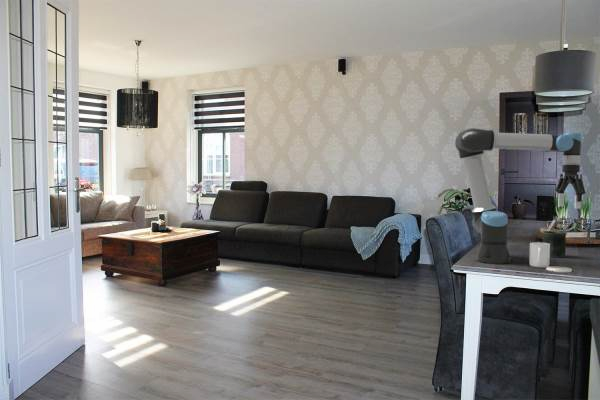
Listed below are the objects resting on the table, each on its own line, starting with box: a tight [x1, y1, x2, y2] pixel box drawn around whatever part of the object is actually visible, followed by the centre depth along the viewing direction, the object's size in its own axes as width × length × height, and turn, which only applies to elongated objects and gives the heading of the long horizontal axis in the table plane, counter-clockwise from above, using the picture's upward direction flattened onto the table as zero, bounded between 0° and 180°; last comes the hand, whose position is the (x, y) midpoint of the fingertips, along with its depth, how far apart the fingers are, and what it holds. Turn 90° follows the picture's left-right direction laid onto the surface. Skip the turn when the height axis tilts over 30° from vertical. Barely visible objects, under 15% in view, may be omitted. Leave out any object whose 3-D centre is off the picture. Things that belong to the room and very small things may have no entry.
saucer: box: [545, 265, 573, 274], centre depth 221 cm, size 10×10×1 cm
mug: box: [534, 230, 568, 258], centre depth 258 cm, size 11×15×12 cm
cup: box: [528, 241, 551, 268], centre depth 230 cm, size 8×12×10 cm
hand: (569, 207), depth 251 cm, fingers open, 13 cm apart
